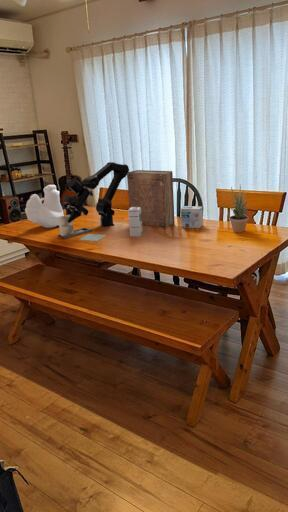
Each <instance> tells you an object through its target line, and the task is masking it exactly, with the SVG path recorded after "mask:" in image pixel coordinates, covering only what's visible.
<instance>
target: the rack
mask: <svg viewBox="0 0 288 512" xmlns="http://www.w3.org/2000/svg"><path fill="white" fill-rule="evenodd" d="M79 230H83V231H82V232H78V233H75V232H76V231H79ZM91 232H92V233H93V228H88V227H81V228H77V229H74V233H73V234H69V235H65V236H63V239H64V240H67V239H70V238H73V237H78V236H80V235H81V236H82V235H84V234H89V233H91ZM57 237H58V238H61V237H62V236H61V235H60V233H59V234H57Z"/></svg>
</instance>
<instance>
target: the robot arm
mask: <svg viewBox="0 0 288 512" xmlns="http://www.w3.org/2000/svg"><path fill="white" fill-rule="evenodd" d="M111 172H113V178H112V179H111V182H110V184H109V186H108V188H107V189H106V192H105V194H104V196H103V198H98V200H97V203H96V204H95V211H96V212H97V215H99V216H100V218H99V220H100V226H102V227H103V228H104V227H105V228H106V227H112V226H115V224H114V219H113V217H114V216H115V213H116V212H115V210H114V209H113V208H112V207H113V204H112V200H113V198H114V197H115V194H116V193H117V191H118V189H119V186H120V184H121V182H122V180H124V178H127V172H130V169H129V166H128V164H123V163H122V164H121V163H116V162H113V161H112V162H111V161H108V162H107V163H106V164H105V165H104V166H103V167H101V168H100V169H99V170H98V171H97V172H96V173H94V174H92V175H90V176H88V177H86V178H83V180H82V181H81V180H80V179H79V178H78V177H76V176H73V178H72V179H70V180H69V181H68V182H67V187H68V188H69V189H70V190H71V191H72V192H73V193H75V194H76V195H70V196H69V195H64V196H63V201H62V203H61V207H62V209H63V210H65V215H71V216H70V218H69V220H68V223H70V222H71V221H73V222H74V220H76V219H77V218H79V217H82V216H85V217H86V216H88V214H89V210H88V209H87V208H86V207H85V206H84V205H86V204H87V202H86V201H87V200H88V198H89V197H94V193H93V190H94V189H96V188H97V187H98V186H99V184H100V182H101V180H103V179H104V178H105V177H106V176H108V175H109V174H110V173H111ZM82 214H83V215H82Z"/></svg>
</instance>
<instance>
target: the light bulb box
mask: <svg viewBox="0 0 288 512" xmlns="http://www.w3.org/2000/svg"><path fill="white" fill-rule="evenodd" d="M203 223H204V222H203V206H197V205H195V206H191V205H184V206H182V207H181V208H180V225H181V228H185V229H186V228H187V229H188V228H189V229H200V228H202V227H203Z"/></svg>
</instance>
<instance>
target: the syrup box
mask: <svg viewBox="0 0 288 512" xmlns="http://www.w3.org/2000/svg"><path fill="white" fill-rule="evenodd" d="M127 215H128V225H129V226H128V227H129V235H130V237H141V236H142V235H143V234H144V230H143V225H142V216H141V207H131V208H130V207H129V209H128V210H127Z"/></svg>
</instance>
